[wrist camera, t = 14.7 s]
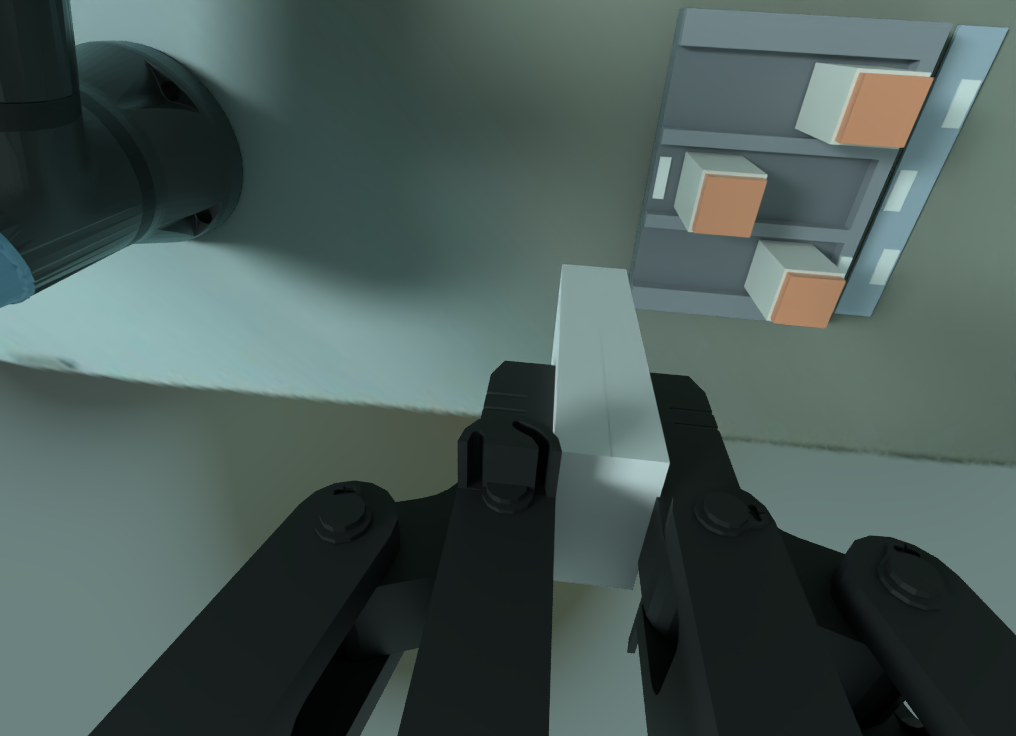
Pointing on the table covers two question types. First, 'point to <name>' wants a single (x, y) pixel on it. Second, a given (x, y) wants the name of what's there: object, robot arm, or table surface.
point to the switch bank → (762, 147)
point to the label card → (920, 163)
